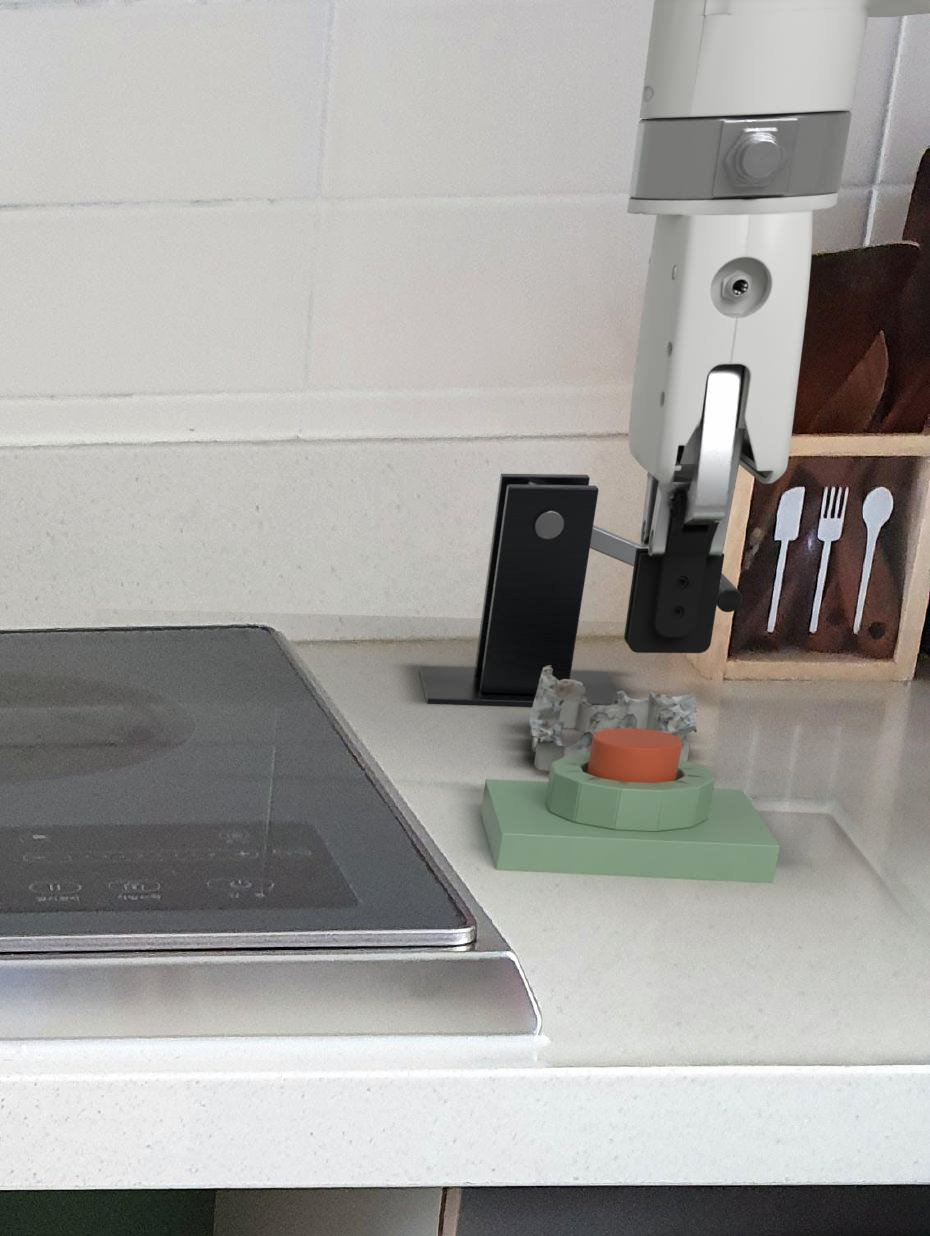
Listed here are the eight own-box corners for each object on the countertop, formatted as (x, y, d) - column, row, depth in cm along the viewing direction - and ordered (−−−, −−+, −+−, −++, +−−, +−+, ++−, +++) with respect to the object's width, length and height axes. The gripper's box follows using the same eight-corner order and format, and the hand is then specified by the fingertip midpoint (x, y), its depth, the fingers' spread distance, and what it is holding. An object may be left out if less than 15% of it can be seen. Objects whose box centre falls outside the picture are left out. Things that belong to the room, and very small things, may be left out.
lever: (710, 606, 122) (735, 564, 120) (727, 627, 117) (753, 583, 116) (503, 519, 122) (525, 476, 121) (511, 536, 117) (535, 491, 116)
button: (668, 769, 99) (675, 729, 99) (681, 790, 96) (688, 749, 95) (582, 765, 100) (588, 726, 99) (591, 787, 97) (598, 746, 96)
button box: (735, 826, 102) (749, 749, 101) (772, 885, 94) (789, 803, 93) (480, 815, 105) (490, 740, 103) (496, 872, 97) (507, 791, 95)
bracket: (604, 693, 126) (640, 471, 121) (623, 727, 119) (661, 493, 114) (417, 687, 128) (444, 468, 123) (425, 720, 121) (453, 490, 116)
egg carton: (527, 741, 117) (539, 661, 115) (684, 752, 114) (699, 670, 113) (516, 793, 108) (529, 706, 106) (686, 805, 105) (702, 717, 104)
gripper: (886, 171, 80) (796, 690, 88) (802, 160, 93) (730, 614, 101) (660, 179, 82) (592, 688, 90) (609, 168, 95) (553, 613, 103)
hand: (665, 647), depth 96 cm, fingers closed
